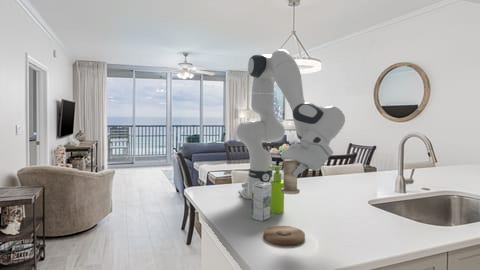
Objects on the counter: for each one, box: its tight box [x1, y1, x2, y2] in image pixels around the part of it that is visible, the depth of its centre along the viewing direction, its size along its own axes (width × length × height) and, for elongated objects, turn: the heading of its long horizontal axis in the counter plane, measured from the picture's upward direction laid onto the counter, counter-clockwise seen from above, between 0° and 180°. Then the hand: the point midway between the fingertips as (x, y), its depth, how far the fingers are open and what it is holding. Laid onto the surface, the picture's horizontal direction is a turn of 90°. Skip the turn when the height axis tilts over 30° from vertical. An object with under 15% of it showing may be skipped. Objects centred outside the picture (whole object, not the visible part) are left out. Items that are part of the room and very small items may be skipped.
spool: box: [281, 159, 301, 195], centre depth 104 cm, size 6×6×11 cm
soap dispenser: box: [269, 165, 285, 214], centre depth 131 cm, size 6×7×20 cm
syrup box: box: [251, 182, 272, 222], centre depth 122 cm, size 6×6×14 cm
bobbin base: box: [263, 225, 306, 247], centre depth 104 cm, size 14×14×2 cm
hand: (288, 173), depth 104 cm, fingers closed on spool, 5 cm apart
